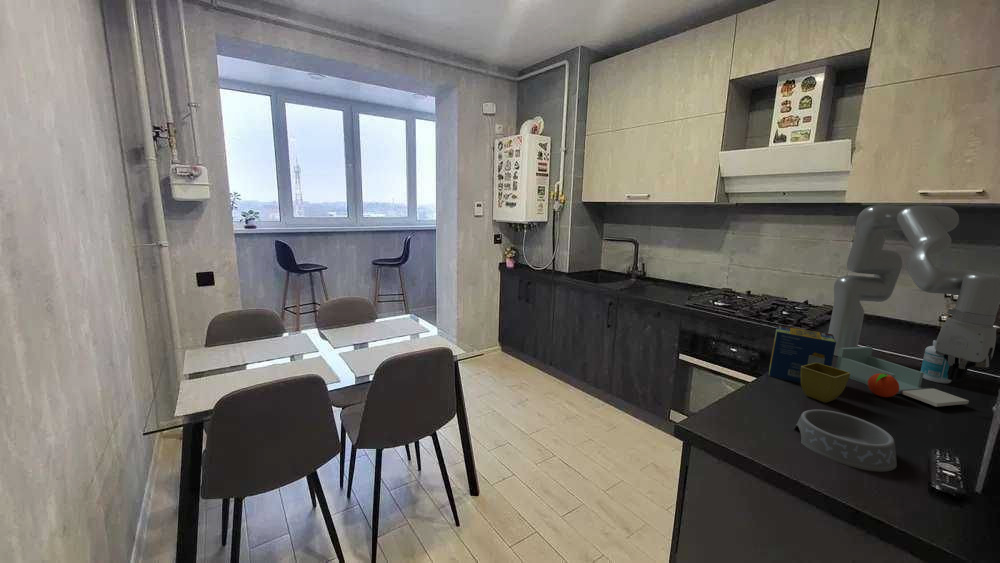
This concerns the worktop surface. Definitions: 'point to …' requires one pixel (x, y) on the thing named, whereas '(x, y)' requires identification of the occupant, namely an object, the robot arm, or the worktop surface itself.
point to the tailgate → (934, 397)
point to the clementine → (883, 385)
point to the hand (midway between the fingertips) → (954, 379)
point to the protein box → (799, 351)
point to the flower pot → (823, 381)
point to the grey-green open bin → (875, 368)
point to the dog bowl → (847, 440)
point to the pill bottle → (934, 366)
